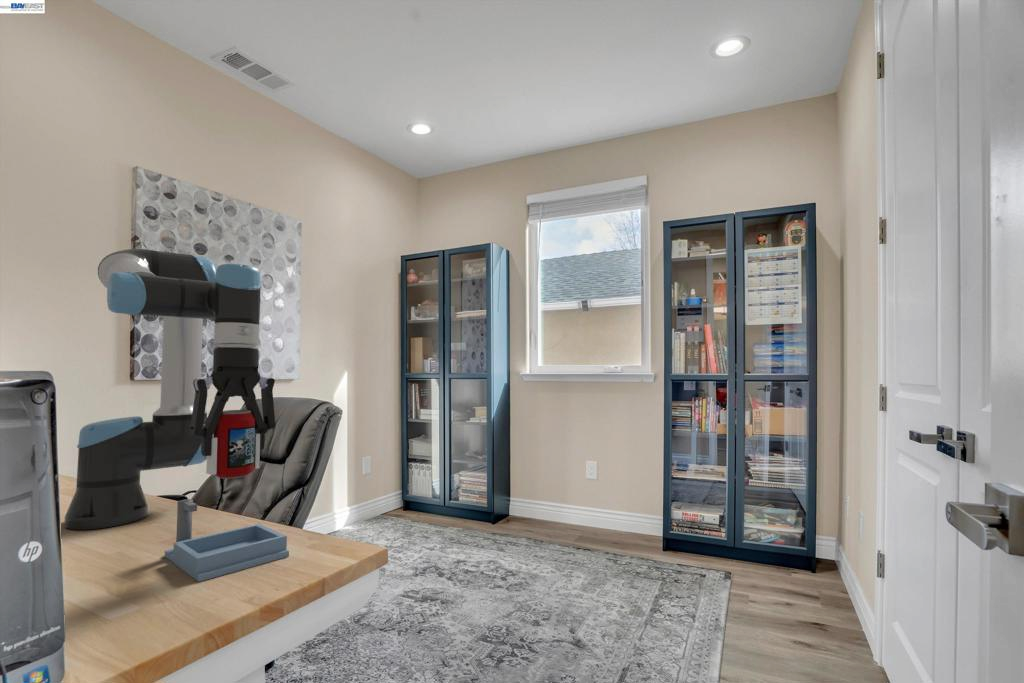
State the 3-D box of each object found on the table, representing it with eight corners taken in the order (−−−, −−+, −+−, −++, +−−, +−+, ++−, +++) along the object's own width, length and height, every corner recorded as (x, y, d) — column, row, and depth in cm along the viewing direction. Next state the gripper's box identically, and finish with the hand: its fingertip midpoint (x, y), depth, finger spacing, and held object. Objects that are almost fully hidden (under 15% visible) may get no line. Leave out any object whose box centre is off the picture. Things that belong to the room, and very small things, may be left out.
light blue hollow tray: (164, 556, 95) (166, 501, 95) (248, 536, 106) (249, 487, 107) (198, 581, 83) (200, 519, 84) (288, 556, 94) (290, 501, 95)
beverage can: (241, 479, 91) (243, 412, 91) (204, 479, 91) (206, 412, 91) (260, 472, 97) (262, 409, 98) (226, 472, 97) (227, 409, 98)
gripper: (183, 344, 86) (179, 482, 84) (297, 347, 100) (294, 465, 99) (169, 345, 90) (165, 476, 89) (279, 349, 105) (277, 461, 104)
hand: (233, 470), depth 94 cm, fingers closed on beverage can, 7 cm apart
